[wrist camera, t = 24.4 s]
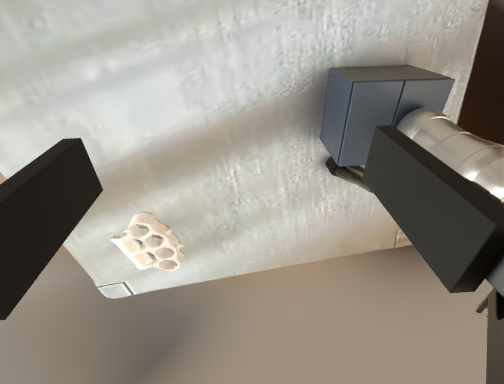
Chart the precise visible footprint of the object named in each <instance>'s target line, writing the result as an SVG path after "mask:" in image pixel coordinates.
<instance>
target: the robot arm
mask: <svg viewBox="0 0 504 384" xmlns="http://www.w3.org/2000/svg"><path fill="white" fill-rule="evenodd" d="M362 178H363V180H364V181H365V182H366V184H367V185H368V186H369V187H370V189H371V190H372V191H373V193H374V194H375V195H376V197H377V198H378V199H379V201H380V202H381V203H382V205H383V206H384V207H385V208H386V210H387V211H388V212H389V214H390V215H391V216H392V218H393V219H394V220H395V222H396V223H397V224H398V226H399V227H400V228H401V229H402V231H403V232H404V233H405V235H406V236H407V237H408V239H409V240H410V241H411V243H412V244H413V245H414V247H415V248H416V249H417V250H418V252H419V253H420V254H421V256H422V257H423V258H424V260H425V261H426V262H427V264H428V265H429V266H430V267H431V269H432V270H433V271H434V272H435V274H436V275H437V277H438V278H439V279H440V281H441V282H442V283H443V285H444V286H445V287H446V288H447V290H448V291H449V292H450V293H459V292H474V291H475V290H476V289H477V288H478V287H479V285H480V284H481V283H482V281H483V280H484V279H486V280H487V281H488V282H489V283H490V284H491V285H492V286H493V287H494V288H493V290H492V291H491V292H490V293H489V294H488V295H487V297H486V298H485V299H484V300H483V301H482V303H481V304H480V305H479V306H478V308H477V310H476V312H478V313H481V312H482V311H483V310H484V309H485V308H488V316H487V317H488V328H487V370H486V371H487V372H486V384H504V202H501V199H499V198H498V197H497V196H495V195H494V194H491V192H489V191H488V190H487V189H485V188H484V187H482V186H481V185H480V184H478V183H476V182H474V181H472V180H469V179H467V178H465V177H463V176H462V175H460V174H459V173H458V172H456V171H455V170H454V169H452V168H451V167H449V166H448V165H447V164H445V163H444V162H442V161H441V160H440V159H438V158H437V157H435V156H434V155H433V154H431V153H430V152H429V151H427V150H426V149H424V148H423V147H422V146H420V145H419V144H417V143H416V142H415V141H413V140H412V139H411V138H409V137H408V136H406V135H405V134H404V133H402V132H401V131H399V130H398V129H397V128H395V127H394V126H393V125H387V126H375V130H374V134H373V138H372V142H371V146H370V150H369V153H368V157H367V161H366V165H365V169H364V173H363V176H362ZM102 191H103V189H102V186H101V184H100V182H99V179H98V177H97V175H96V172H95V170H94V168H93V165H92V163H91V161H90V158H89V156H88V154H87V151H86V149H85V147H84V144H83V142H82V140H81V138H73V139H62V140H61V141H60V142H58V143H57V144H55V145H54V146H53V147H51V148H50V149H49V150H47V151H46V152H44V153H43V154H42V155H40V156H39V157H38V158H36V159H35V160H33V161H32V162H31V163H29V164H28V165H27V166H25V167H24V168H22V169H21V170H20V171H18V172H17V173H16V174H14V175H13V176H11V177H10V178H9V179H7V180H6V181H5V182H3V183H2V184H0V320H5V319H6V318H7V317H8V316H9V315H10V313H11V312H12V311H13V309H14V308H15V307H16V305H17V304H18V303H19V301H20V300H21V299H22V297H23V296H24V295H25V293H26V292H27V291H28V289H29V288H30V287H31V285H32V284H33V283H34V281H35V280H36V279H37V277H38V276H39V274H40V273H41V272H42V271H43V269H44V268H45V267H46V265H47V264H48V263H49V261H50V260H51V259H52V257H53V256H54V255H55V253H56V252H57V251H58V249H59V248H60V247H61V245H62V244H63V243H64V241H65V240H66V239H67V237H68V236H69V235H70V233H71V232H72V231H73V229H74V228H75V227H76V225H77V224H78V223H79V221H80V220H81V219H82V217H83V216H84V215H85V213H86V212H87V211H88V209H89V208H90V207H91V205H92V204H93V203H94V201H95V200H96V199H97V197H98V196H99V195H100V193H101V192H102Z"/></svg>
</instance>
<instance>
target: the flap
mask: <svg viewBox="0 0 504 384" xmlns="http://www.w3.org/2000/svg"><path fill="white" fill-rule="evenodd" d="M403 83H404V81H403V80H402V81H378V82H354V86H353V91H352V96H351V102H350V107H349V112H348V117H347V123H346V128H345V133H344V138H343V143H342V149H341V154H340V159H339V164H338V166H339V167H341V166H359V165H366V161H367V157H368V153H369V150H370V146H371V142H372V138H373V134H374V130H375V126H387V125H391V124H392V121H393V117H394V114H395V111H396V107H397V104H398V100H399V97H400V94H401V90H402V87H403Z"/></svg>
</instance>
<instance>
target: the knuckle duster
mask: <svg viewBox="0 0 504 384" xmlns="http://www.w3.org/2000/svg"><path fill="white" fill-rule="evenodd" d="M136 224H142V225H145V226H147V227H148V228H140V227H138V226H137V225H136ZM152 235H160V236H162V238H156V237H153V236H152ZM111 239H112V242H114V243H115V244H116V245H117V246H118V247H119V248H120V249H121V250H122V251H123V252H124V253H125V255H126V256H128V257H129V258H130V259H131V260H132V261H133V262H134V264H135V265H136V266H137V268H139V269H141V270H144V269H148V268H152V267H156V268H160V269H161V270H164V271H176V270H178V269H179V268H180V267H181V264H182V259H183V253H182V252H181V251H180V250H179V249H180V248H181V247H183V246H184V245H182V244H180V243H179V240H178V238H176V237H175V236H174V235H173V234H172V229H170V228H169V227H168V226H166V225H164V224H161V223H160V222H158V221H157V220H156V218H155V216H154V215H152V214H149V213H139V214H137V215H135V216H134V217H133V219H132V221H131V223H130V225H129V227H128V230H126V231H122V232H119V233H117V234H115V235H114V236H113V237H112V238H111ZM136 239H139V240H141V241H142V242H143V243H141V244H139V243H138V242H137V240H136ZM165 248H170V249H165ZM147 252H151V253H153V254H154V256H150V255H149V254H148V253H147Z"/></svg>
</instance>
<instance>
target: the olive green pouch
mask: <svg viewBox="0 0 504 384" xmlns="http://www.w3.org/2000/svg"><path fill="white" fill-rule="evenodd" d="M326 166H327V168H328V169H329V171H330V173H331V174H332V175H334V176H337V177H340V178H343V179H345V180H347V181H350V182H352V183H354V184H357V185H359V186H360V187H362V188H364V189H365V190H367V191H369V192H372V193H373V191H372V190H371V189H370V187H369V186H368V185H367V184H366V182H365V181H364V180H363V178H362V176H363V173H364V169H363V168H361V167H359V166H341V167H339V166H338V164H336V162H335V161H334V159H333V158H332V157H331V158H330V159H329V160H328V161H327V162H326Z"/></svg>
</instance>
